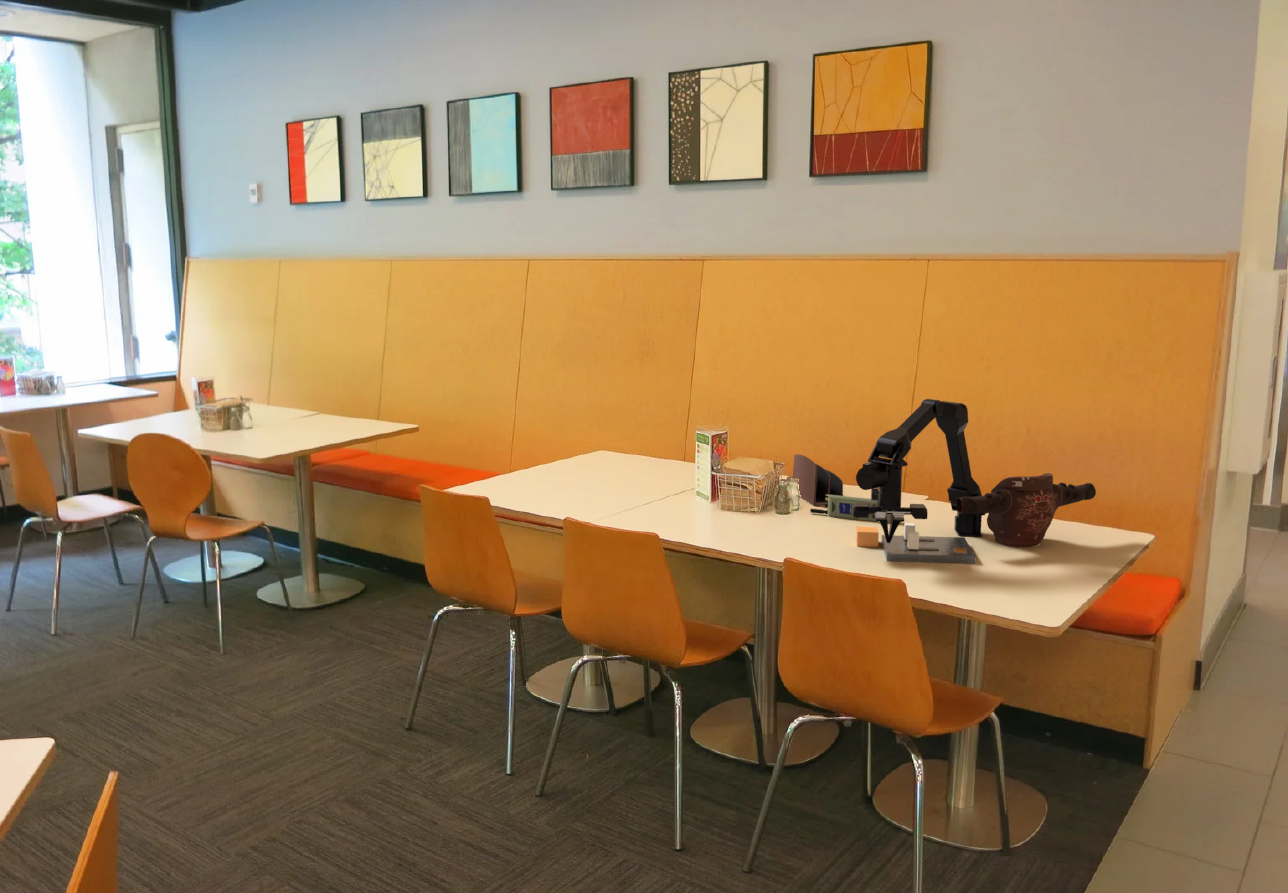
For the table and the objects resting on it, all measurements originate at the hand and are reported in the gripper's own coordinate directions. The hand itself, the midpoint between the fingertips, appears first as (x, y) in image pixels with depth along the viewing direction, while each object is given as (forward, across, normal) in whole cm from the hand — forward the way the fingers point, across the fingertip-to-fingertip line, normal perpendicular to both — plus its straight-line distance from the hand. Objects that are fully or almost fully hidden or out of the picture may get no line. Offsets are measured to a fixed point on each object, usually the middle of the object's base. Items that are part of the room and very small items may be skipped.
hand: (888, 542), depth 275 cm
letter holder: (+4, +17, -64) cm, 67 cm away
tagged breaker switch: (+1, -6, 0) cm, 6 cm away
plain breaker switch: (+1, -6, -9) cm, 11 cm away
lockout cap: (+4, +5, -11) cm, 12 cm away
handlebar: (+4, -37, -16) cm, 41 cm away
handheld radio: (+4, +8, -39) cm, 40 cm away
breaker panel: (+4, -10, -4) cm, 12 cm away
